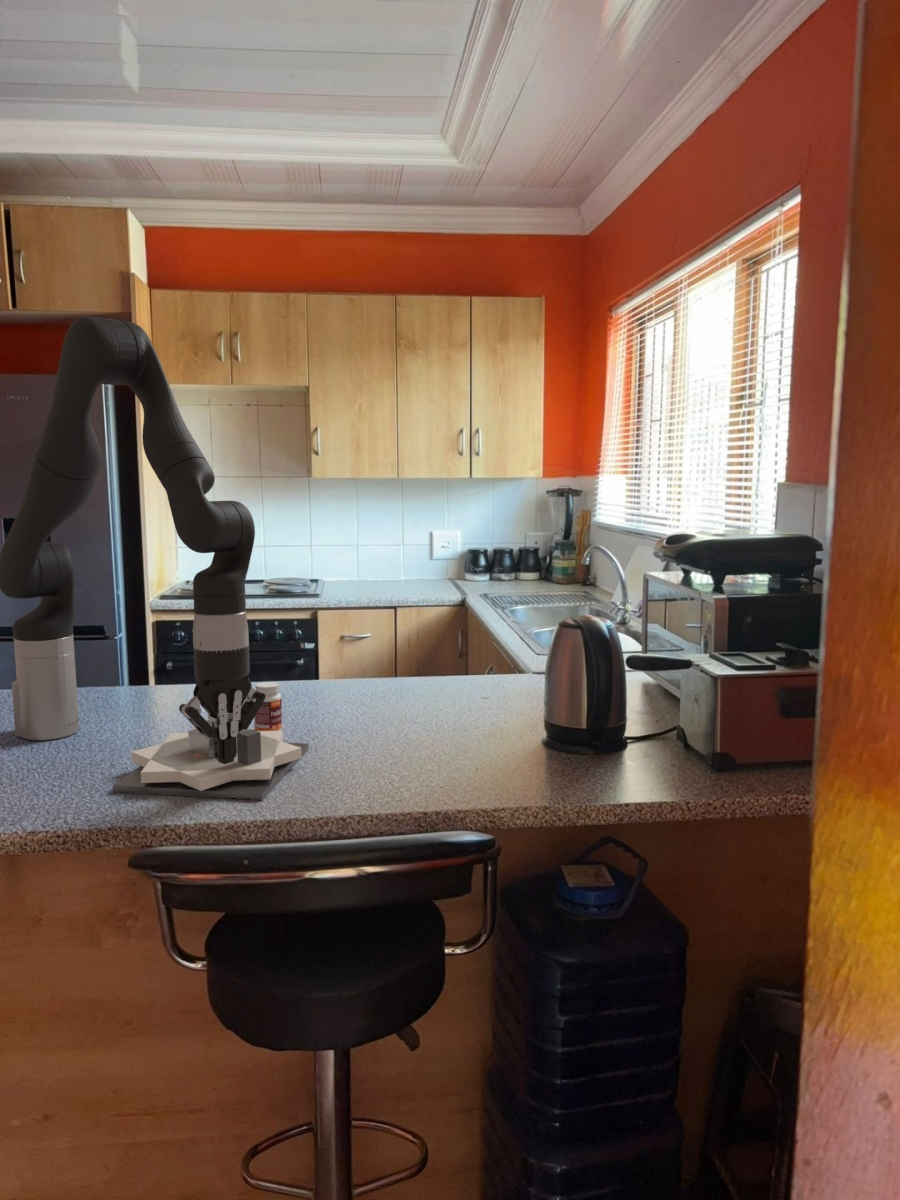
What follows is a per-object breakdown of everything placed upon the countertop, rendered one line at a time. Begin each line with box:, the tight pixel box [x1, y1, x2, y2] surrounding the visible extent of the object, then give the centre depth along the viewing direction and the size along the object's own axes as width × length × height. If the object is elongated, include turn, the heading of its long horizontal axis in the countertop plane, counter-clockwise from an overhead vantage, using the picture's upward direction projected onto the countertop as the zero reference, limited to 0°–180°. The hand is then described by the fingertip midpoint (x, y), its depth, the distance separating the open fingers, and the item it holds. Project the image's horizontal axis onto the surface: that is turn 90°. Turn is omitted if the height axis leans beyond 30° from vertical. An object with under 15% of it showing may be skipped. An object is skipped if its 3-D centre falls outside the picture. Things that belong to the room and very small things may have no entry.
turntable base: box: [112, 742, 309, 801], centre depth 128 cm, size 22×22×1 cm
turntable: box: [131, 728, 303, 791], centre depth 127 cm, size 26×26×6 cm
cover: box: [187, 719, 244, 759], centre depth 127 cm, size 6×6×4 cm
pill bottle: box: [254, 681, 283, 731], centre depth 147 cm, size 5×5×8 cm
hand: (225, 761), depth 120 cm, fingers closed
